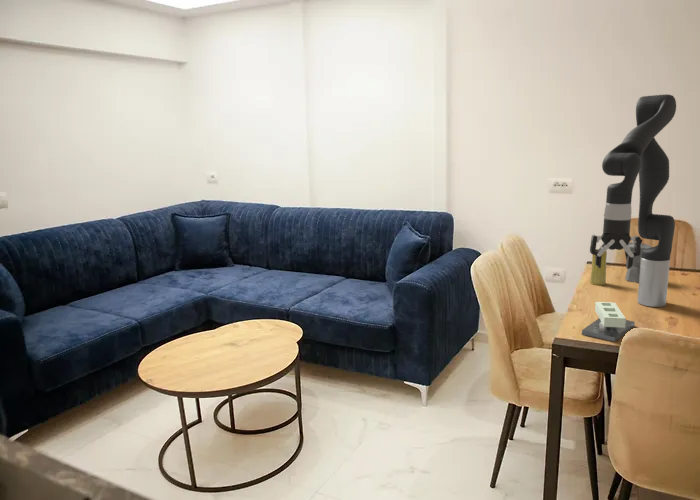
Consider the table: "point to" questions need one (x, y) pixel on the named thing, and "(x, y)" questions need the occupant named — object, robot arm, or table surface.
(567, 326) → the table surface
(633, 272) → the coffeepot
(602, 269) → the vase
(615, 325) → the flange bar
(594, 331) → the base
